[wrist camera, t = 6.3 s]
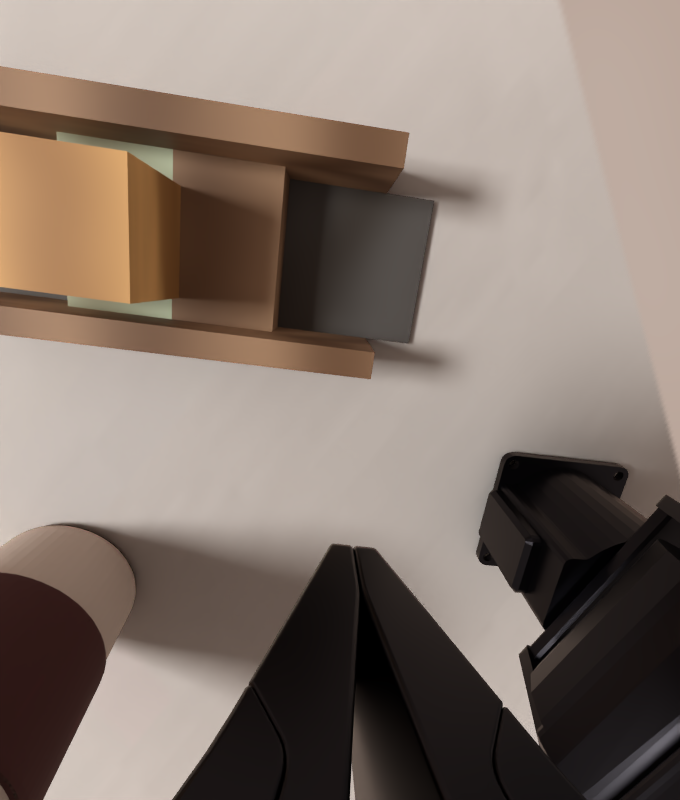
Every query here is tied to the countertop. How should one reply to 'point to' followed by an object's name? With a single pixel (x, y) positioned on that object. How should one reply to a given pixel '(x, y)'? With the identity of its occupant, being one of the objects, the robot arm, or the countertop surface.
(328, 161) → the trough
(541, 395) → the countertop surface
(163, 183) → the block
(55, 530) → the coffee cup
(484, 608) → the countertop surface
